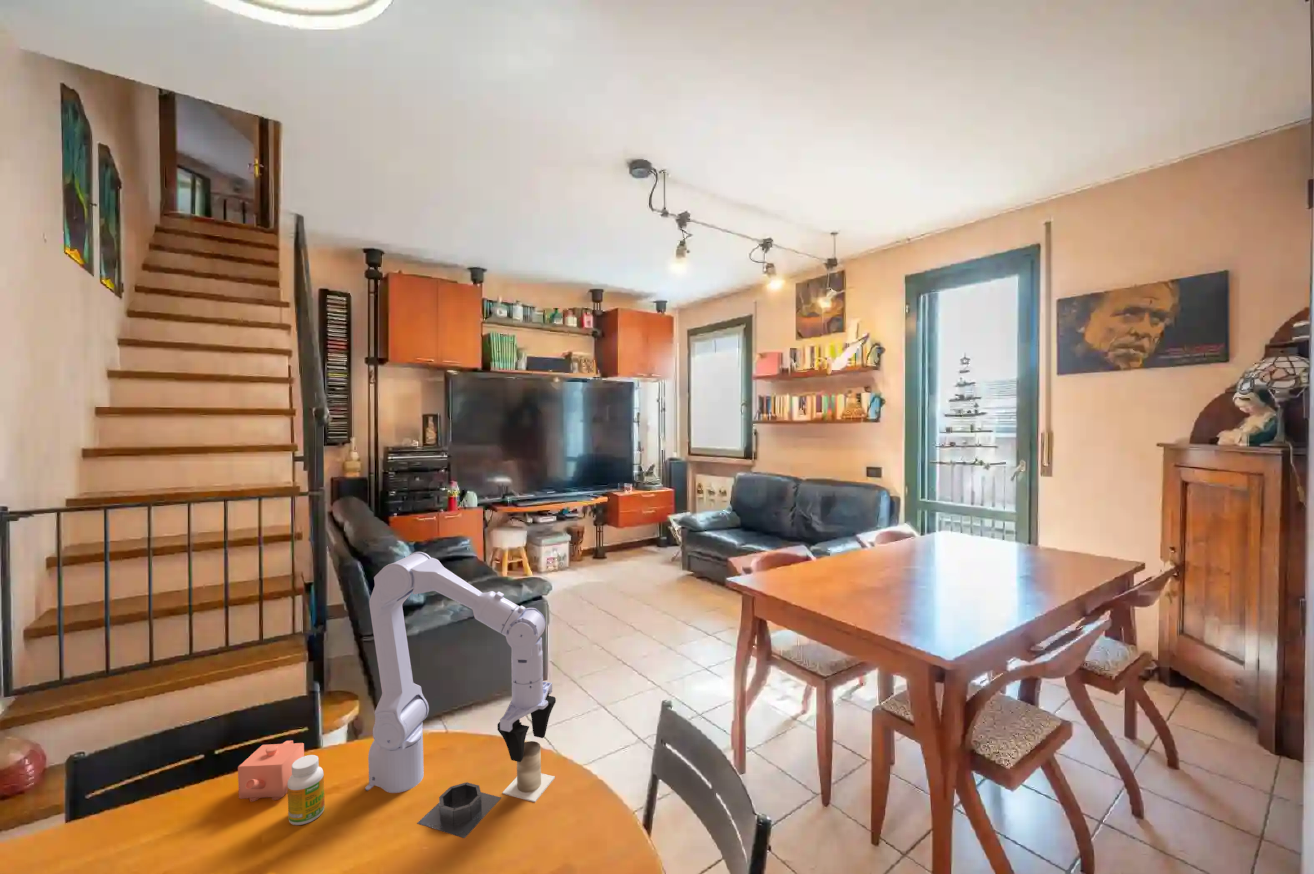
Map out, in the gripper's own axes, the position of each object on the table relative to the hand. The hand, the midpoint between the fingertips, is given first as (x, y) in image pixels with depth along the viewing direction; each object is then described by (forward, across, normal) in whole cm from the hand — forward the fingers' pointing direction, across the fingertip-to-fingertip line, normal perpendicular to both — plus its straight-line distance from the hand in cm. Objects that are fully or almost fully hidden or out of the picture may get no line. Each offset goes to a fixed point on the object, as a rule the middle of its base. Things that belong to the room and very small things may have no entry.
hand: (528, 747), depth 101 cm
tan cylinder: (+7, 0, 0) cm, 7 cm away
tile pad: (+8, 0, 0) cm, 8 cm away
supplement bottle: (+8, -18, +34) cm, 40 cm away
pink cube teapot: (+8, -16, +46) cm, 50 cm away
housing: (+8, -10, +8) cm, 15 cm away
